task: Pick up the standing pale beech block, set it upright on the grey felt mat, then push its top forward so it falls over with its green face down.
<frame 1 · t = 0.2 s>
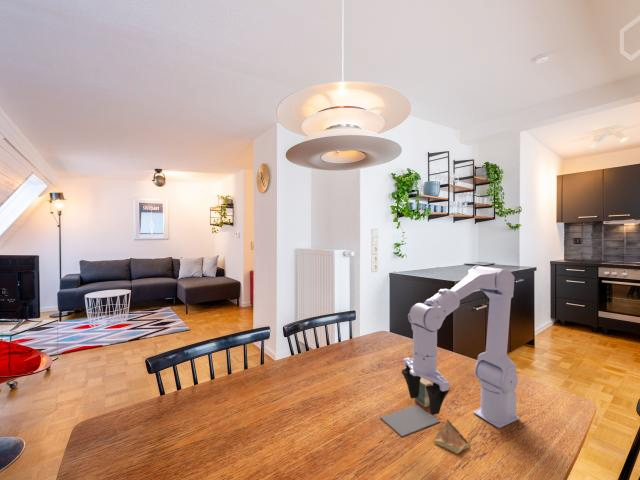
hand: (424, 405, 77), 10 cm above the table, tool pointing down, fingers open, 7 cm apart
shard: (446, 440, 79), on the table
beech block: (422, 402, 96), on the table
felt mat: (409, 420, 87), on the table
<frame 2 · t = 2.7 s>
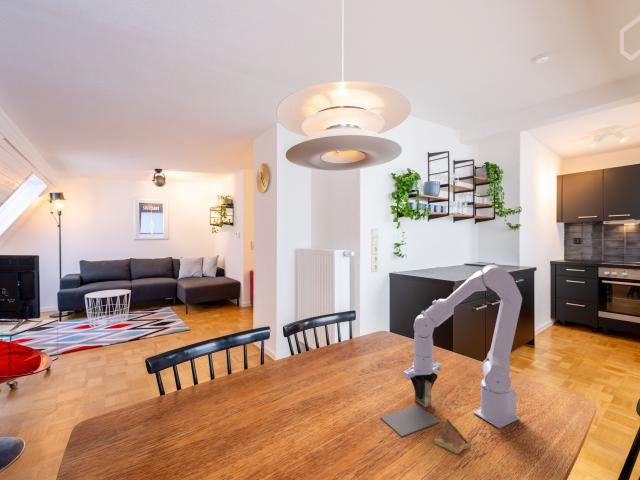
hand: (422, 396, 96), 2 cm above the table, tool pointing down, fingers closed on beech block, 2 cm apart
beech block: (422, 402, 96), on the table, touching gripper
everything else where it was.
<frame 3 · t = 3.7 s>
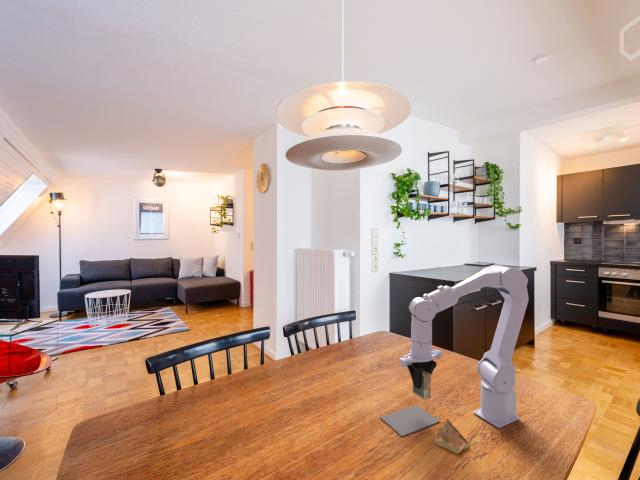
hand: (420, 385, 89), 9 cm above the table, tool pointing down, fingers closed on beech block, 2 cm apart
beech block: (421, 395, 88), point 6 cm above the table, touching gripper
everything else where it was.
when the fingers open (2 cm above the table, at t = 5.2 s): beech block stays where it is, resting on felt mat.
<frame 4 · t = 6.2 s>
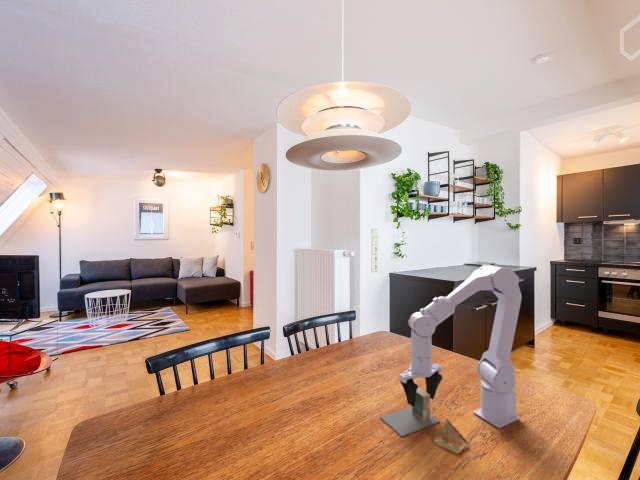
hand: (420, 400, 89), 5 cm above the table, tool pointing down, fingers open, 7 cm apart
beech block: (420, 415, 89), resting on felt mat
everything else where it was.
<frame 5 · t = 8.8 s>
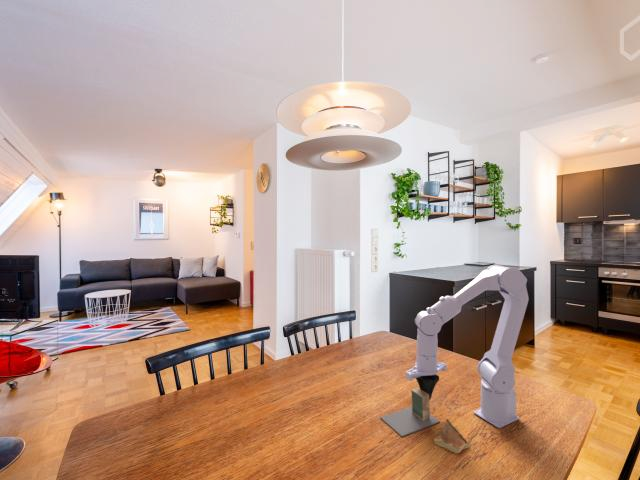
hand: (426, 398, 90), 5 cm above the table, tool pointing down, fingers closed
beech block: (420, 415, 89), resting on felt mat, touching gripper
everything else where it was.
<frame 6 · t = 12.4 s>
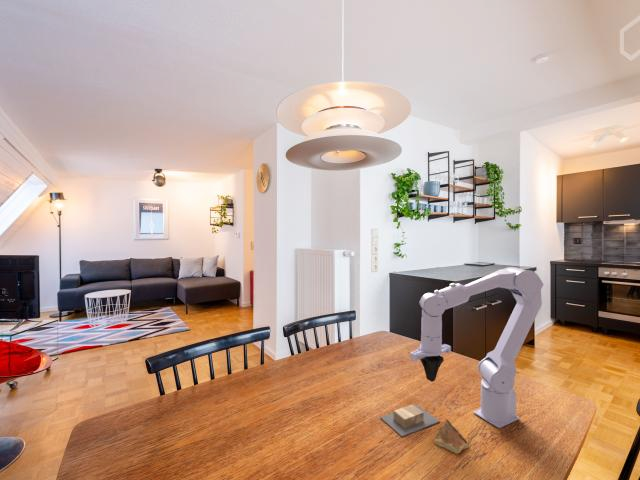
hand: (430, 379, 90), 10 cm above the table, tool pointing down, fingers closed
beech block: (417, 412, 88), point 2 cm above the table, tilted 90°, touching felt mat
everything else where it was.
at the end: beech block tilted 90°; beech block inside the target area (2.8 cm from its centre), point 1.6 cm above the table; the gripper is holding nothing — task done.
